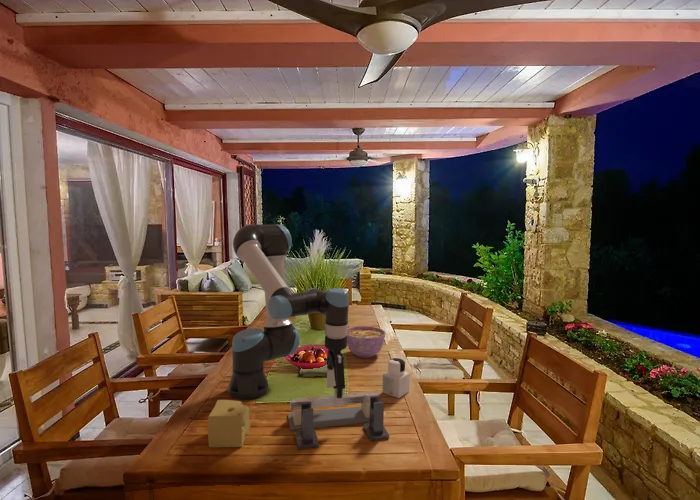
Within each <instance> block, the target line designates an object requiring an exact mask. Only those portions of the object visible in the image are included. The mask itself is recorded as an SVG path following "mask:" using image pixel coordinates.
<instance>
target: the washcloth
mask: <svg viewBox="0 0 700 500" xmlns="http://www.w3.org/2000/svg"><path fill="white" fill-rule="evenodd" d="M300 368H301V367H300ZM333 369H334V368H333ZM299 375H301V376H302V378H311V377H312V378H315V377H314V376H322V377H327V365H325V366H323V367H320V368H313V369H302V368H301V369H299Z"/></svg>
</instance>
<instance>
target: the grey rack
mask: <svg viewBox="0 0 700 500" xmlns="http://www.w3.org/2000/svg"><path fill="white" fill-rule="evenodd" d="M313 411H314V408H311V402H302V403H301V430H295V439H296V443H297V444H296V445H297V449H298V450H299V451H300V450H307V449H315V448H319V444H320V443H319V439H318V436H317V432H316V428H313ZM384 411H385V403H384V401H381V398H380V394H379V395H378V396H370V416H369V422H368V423H363V429H364V432H365V433H366V435H367V437H368V439H369V441H370V442H374V441H381V440H389V439H390V434H389V433H388V431H387V429H386V427H385V426H384V419H385V418H384V413H385V412H384Z"/></svg>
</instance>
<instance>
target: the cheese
mask: <svg viewBox="0 0 700 500" xmlns="http://www.w3.org/2000/svg"><path fill="white" fill-rule="evenodd" d="M249 416H250V408H249V406H247V405H244V403H243V402H242V401H241V400H232V399H217V401H216V403H215V404H214V407H213V408H212V410H211V412H210V413H209V415H208V418H207V441H208V447H209V448H242V447H243V445H244V442H245V440H246V436H247V435H248V433H249V431H250V429H251V420H250V417H249Z"/></svg>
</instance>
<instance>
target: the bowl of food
mask: <svg viewBox="0 0 700 500" xmlns="http://www.w3.org/2000/svg"><path fill="white" fill-rule="evenodd" d="M347 330H348V331H347V335H346V336H347V347H348V350H349V351H350V352H351V353H352V354H354V355H356V356H357V357H359V358H365V359H367V358H372V357H373V356H375V355H378V354H379V353H380V351H381V350H382V349H383V345H384V341H385V338H386V333H387V332H386V331H385V330H384V329H382V328H380V327H375V326H366V325H359V326H352V327H349V328H347Z"/></svg>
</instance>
